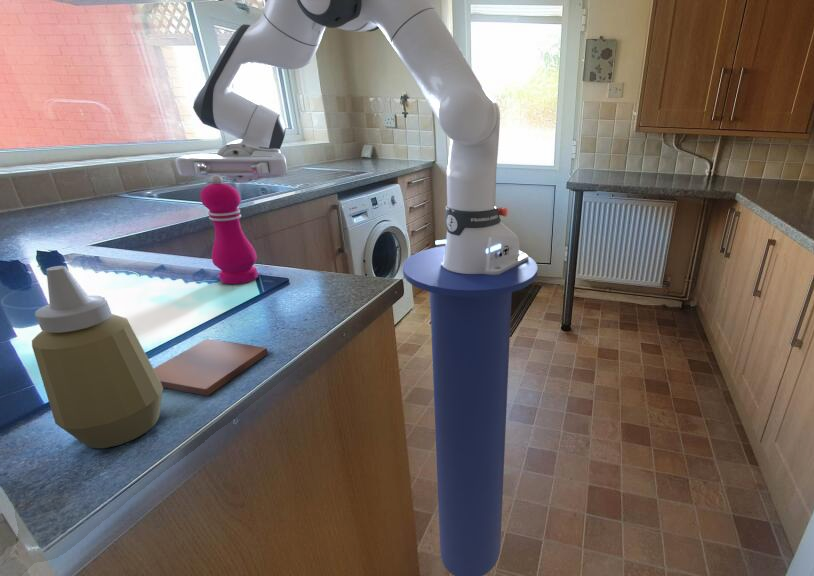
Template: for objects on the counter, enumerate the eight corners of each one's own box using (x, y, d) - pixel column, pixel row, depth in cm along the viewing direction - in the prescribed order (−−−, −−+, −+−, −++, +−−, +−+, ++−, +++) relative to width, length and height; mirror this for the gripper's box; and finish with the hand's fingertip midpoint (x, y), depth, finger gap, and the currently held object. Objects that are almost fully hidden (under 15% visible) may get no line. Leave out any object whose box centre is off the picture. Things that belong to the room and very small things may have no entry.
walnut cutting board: (209, 344, 58) (207, 338, 58) (268, 353, 57) (266, 347, 56) (140, 383, 50) (137, 376, 49) (207, 396, 48) (205, 389, 48)
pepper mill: (246, 269, 85) (223, 170, 77) (269, 276, 82) (248, 174, 74) (209, 280, 79) (181, 174, 71) (233, 288, 76) (206, 178, 68)
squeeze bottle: (116, 465, 38) (37, 290, 31) (45, 451, 40) (-47, 280, 33) (191, 409, 46) (141, 257, 39) (129, 399, 47) (70, 250, 40)
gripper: (182, 147, 90) (161, 153, 78) (286, 148, 97) (282, 154, 86) (189, 176, 92) (170, 186, 81) (291, 175, 100) (287, 185, 88)
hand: (229, 170), depth 83 cm, fingers open, 8 cm apart
